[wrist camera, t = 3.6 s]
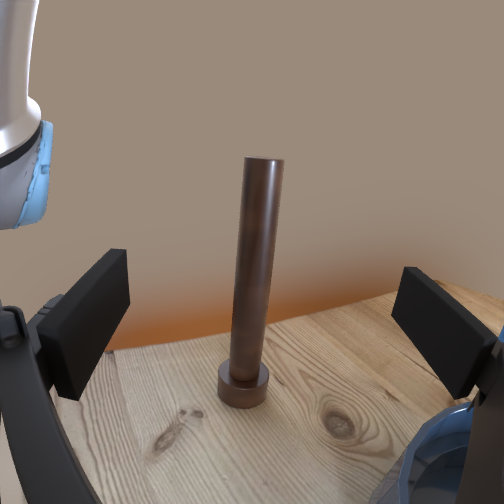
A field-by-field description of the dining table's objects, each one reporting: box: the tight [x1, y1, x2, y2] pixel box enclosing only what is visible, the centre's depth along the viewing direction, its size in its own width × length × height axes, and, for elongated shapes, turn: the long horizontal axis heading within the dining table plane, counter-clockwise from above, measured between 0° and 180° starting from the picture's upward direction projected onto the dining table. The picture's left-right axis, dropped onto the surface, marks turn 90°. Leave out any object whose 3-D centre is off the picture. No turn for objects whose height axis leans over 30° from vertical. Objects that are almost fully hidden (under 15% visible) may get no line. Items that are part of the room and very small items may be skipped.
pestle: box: [218, 156, 284, 409], centre depth 24 cm, size 4×4×20 cm
